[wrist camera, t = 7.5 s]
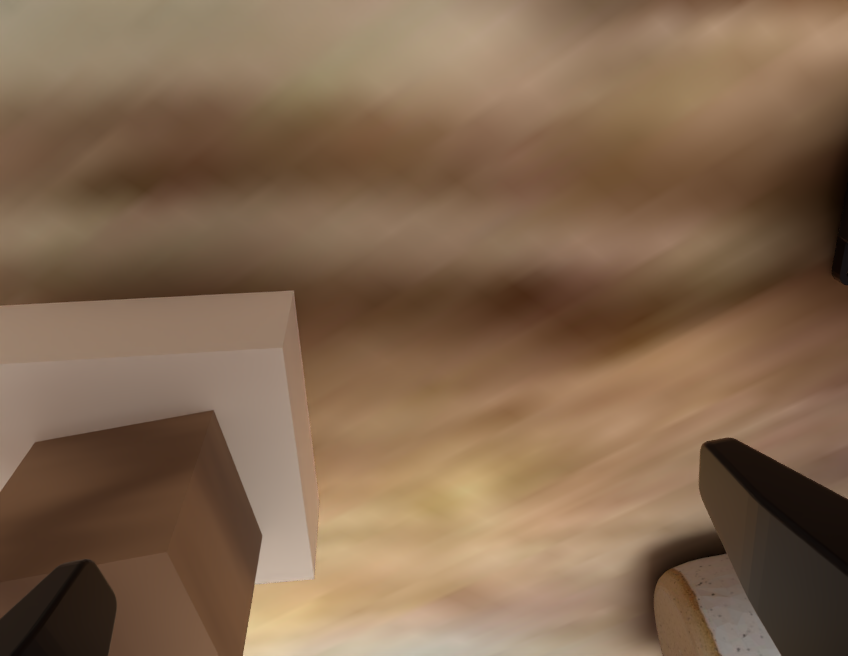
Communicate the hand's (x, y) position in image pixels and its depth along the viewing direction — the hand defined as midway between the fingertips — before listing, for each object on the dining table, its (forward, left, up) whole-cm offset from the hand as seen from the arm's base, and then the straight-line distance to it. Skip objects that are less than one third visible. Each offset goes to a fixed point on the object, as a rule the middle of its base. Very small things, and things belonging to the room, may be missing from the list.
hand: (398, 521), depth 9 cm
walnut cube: (+8, +5, -8) cm, 12 cm away
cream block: (+8, +5, -12) cm, 15 cm away
